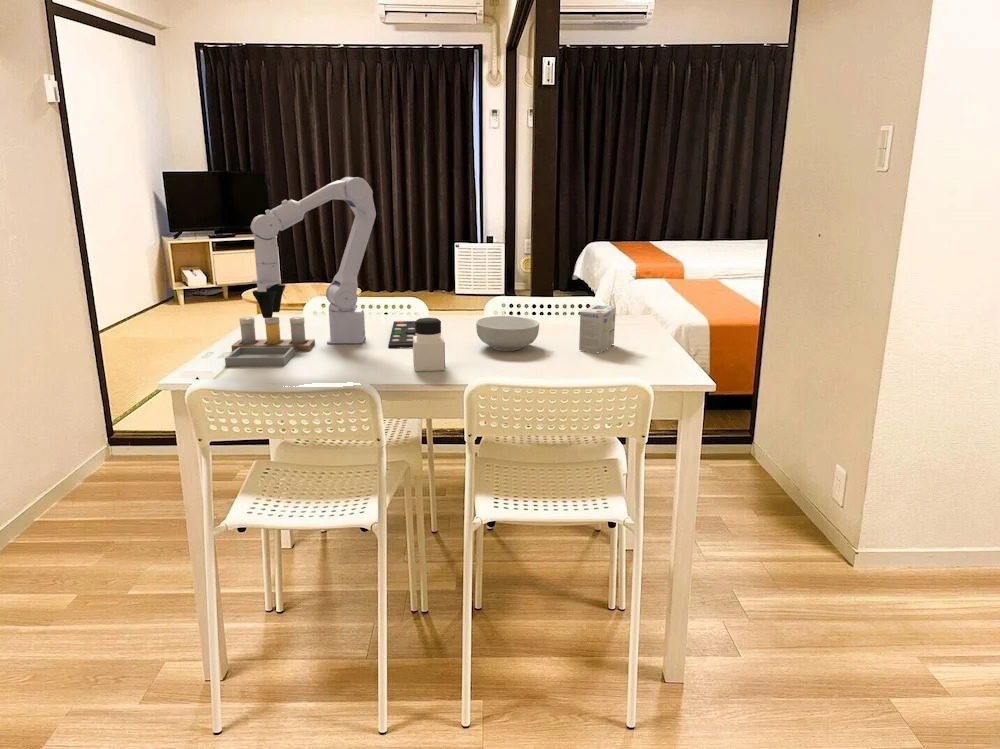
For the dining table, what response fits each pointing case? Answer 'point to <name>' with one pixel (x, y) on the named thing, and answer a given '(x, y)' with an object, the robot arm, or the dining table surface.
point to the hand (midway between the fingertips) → (271, 314)
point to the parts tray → (260, 356)
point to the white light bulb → (248, 330)
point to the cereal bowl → (507, 332)
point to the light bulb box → (597, 328)
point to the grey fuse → (297, 330)
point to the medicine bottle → (428, 345)
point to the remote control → (402, 334)
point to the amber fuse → (273, 330)
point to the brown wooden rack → (284, 343)
